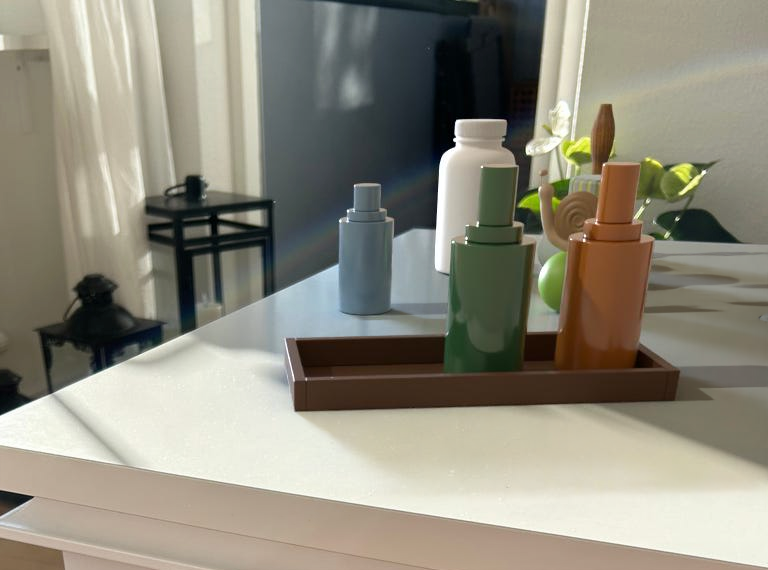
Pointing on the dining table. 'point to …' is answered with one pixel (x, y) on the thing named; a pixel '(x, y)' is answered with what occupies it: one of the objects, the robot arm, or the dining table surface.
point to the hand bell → (602, 137)
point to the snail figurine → (561, 235)
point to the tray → (455, 376)
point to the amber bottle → (605, 280)
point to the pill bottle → (465, 179)
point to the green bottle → (490, 282)
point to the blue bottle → (365, 254)
